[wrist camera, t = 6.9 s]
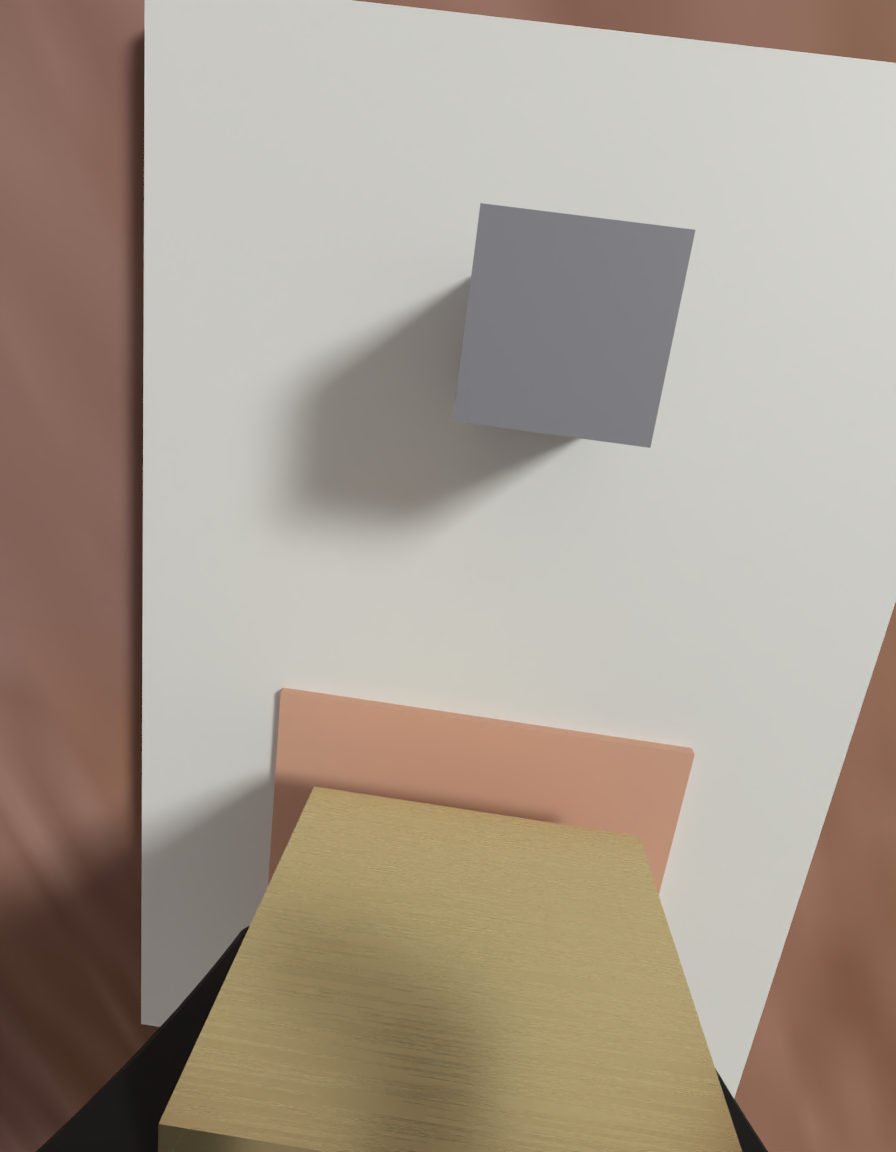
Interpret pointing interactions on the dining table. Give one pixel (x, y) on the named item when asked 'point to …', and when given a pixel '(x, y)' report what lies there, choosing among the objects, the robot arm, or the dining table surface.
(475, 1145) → the sleeve
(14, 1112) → the dining table surface
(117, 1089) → the robot arm
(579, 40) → the board
